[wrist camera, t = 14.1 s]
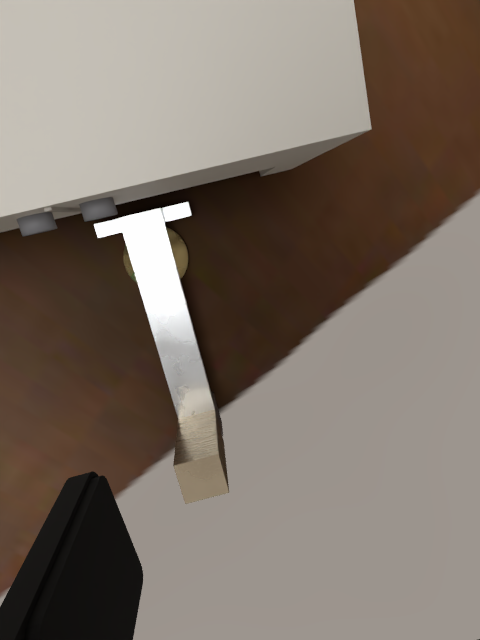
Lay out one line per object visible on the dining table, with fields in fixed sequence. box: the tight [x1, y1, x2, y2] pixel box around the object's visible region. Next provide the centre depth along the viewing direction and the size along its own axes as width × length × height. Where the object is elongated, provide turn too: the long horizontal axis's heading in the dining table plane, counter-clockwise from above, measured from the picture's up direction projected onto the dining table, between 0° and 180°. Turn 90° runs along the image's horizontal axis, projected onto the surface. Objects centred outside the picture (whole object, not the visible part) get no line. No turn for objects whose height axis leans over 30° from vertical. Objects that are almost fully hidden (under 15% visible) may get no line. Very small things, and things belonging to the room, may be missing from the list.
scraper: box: [94, 202, 229, 504], centre depth 31 cm, size 19×7×10 cm, turn 13°
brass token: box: [123, 227, 188, 283], centre depth 34 cm, size 5×5×1 cm
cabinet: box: [0, 0, 371, 236], centre depth 23 cm, size 28×19×16 cm
